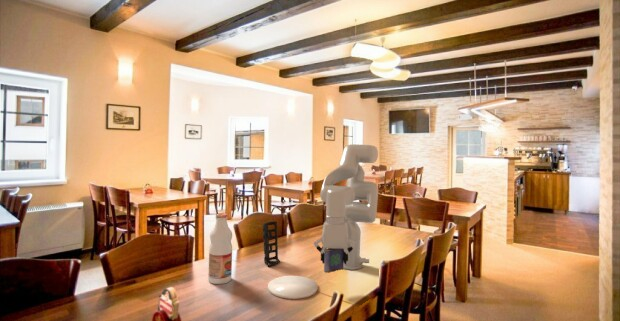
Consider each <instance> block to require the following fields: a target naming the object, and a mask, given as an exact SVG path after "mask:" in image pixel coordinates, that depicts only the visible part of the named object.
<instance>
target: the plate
mask: <svg viewBox="0 0 620 321" xmlns="http://www.w3.org/2000/svg"><path fill="white" fill-rule="evenodd" d="M267 290H268V292H269V293H270V294H271V295H273V296H275V297H278V298H282V299H287V300H288V299H289V300H300V299H305V298H308V297H311V296H313V295H315V293H317V291H318V284H317V282H316V281H315V280H313V279H311V278H309V277H305V276H301V275H284V276H279V277H276V278H274V279H272V280H270V281H268V284H267Z"/></svg>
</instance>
